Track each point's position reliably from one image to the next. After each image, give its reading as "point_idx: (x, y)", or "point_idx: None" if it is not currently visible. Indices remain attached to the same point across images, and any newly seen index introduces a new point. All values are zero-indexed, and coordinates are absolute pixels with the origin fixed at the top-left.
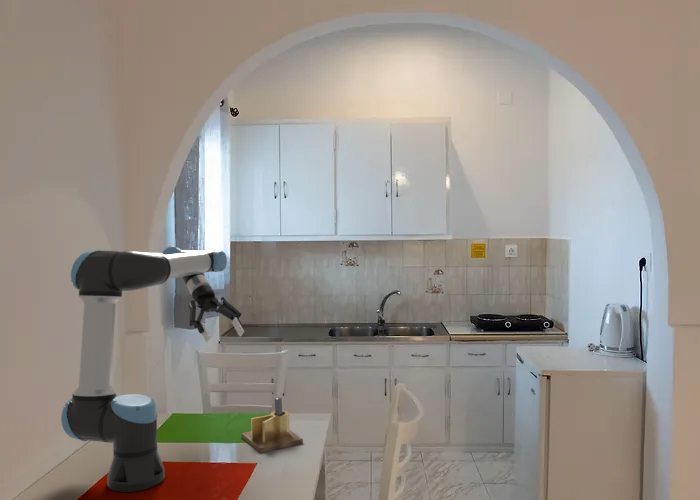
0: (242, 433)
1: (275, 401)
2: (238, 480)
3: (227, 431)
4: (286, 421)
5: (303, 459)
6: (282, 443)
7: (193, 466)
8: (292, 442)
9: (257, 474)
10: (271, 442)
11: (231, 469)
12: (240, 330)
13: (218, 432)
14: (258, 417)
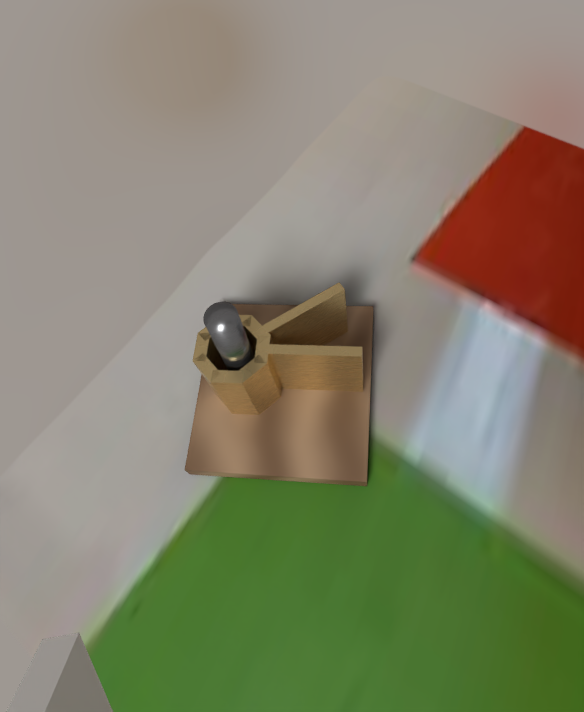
0: (364, 475)
1: (239, 316)
2: (503, 187)
3: (385, 609)
4: None
5: (286, 218)
6: (289, 305)
7: None
8: (253, 306)
9: (442, 195)
10: None
11: (498, 255)
12: (70, 703)
13: (427, 625)
14: (330, 349)
